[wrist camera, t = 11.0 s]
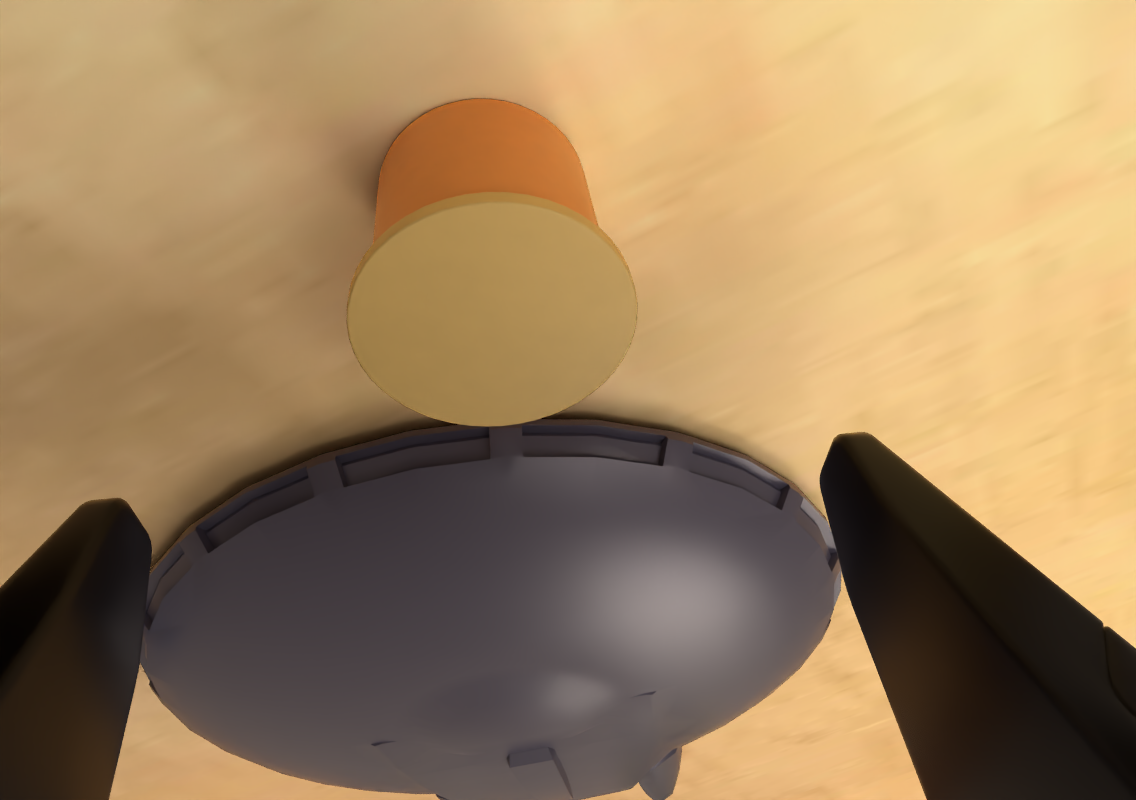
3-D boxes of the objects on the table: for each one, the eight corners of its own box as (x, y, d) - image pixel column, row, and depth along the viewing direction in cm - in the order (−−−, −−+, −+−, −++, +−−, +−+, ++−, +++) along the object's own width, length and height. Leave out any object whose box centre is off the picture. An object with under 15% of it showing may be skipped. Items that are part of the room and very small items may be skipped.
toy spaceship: (803, 740, 39) (825, 809, 37) (340, 825, 40) (335, 898, 38) (886, 330, 19) (946, 426, 17) (-56, 513, 20) (-118, 630, 17)
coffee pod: (595, 284, 17) (627, 415, 14) (382, 298, 17) (372, 437, 14) (605, 74, 14) (650, 193, 11) (340, 85, 13) (317, 211, 11)
